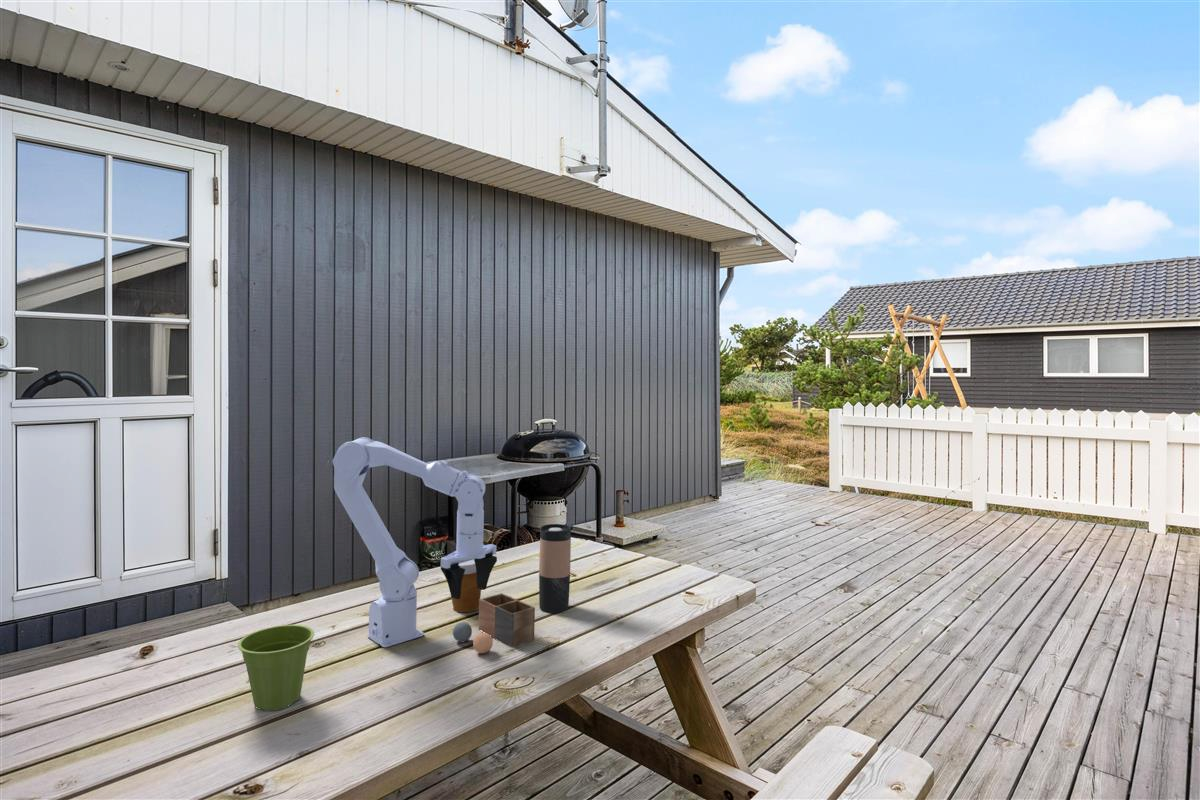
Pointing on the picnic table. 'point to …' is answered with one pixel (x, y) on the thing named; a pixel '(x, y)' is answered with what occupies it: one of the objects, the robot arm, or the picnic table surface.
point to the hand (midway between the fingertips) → (468, 593)
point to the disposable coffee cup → (468, 589)
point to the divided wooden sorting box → (507, 619)
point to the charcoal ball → (462, 632)
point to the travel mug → (554, 568)
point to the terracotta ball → (482, 643)
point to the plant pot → (276, 664)
